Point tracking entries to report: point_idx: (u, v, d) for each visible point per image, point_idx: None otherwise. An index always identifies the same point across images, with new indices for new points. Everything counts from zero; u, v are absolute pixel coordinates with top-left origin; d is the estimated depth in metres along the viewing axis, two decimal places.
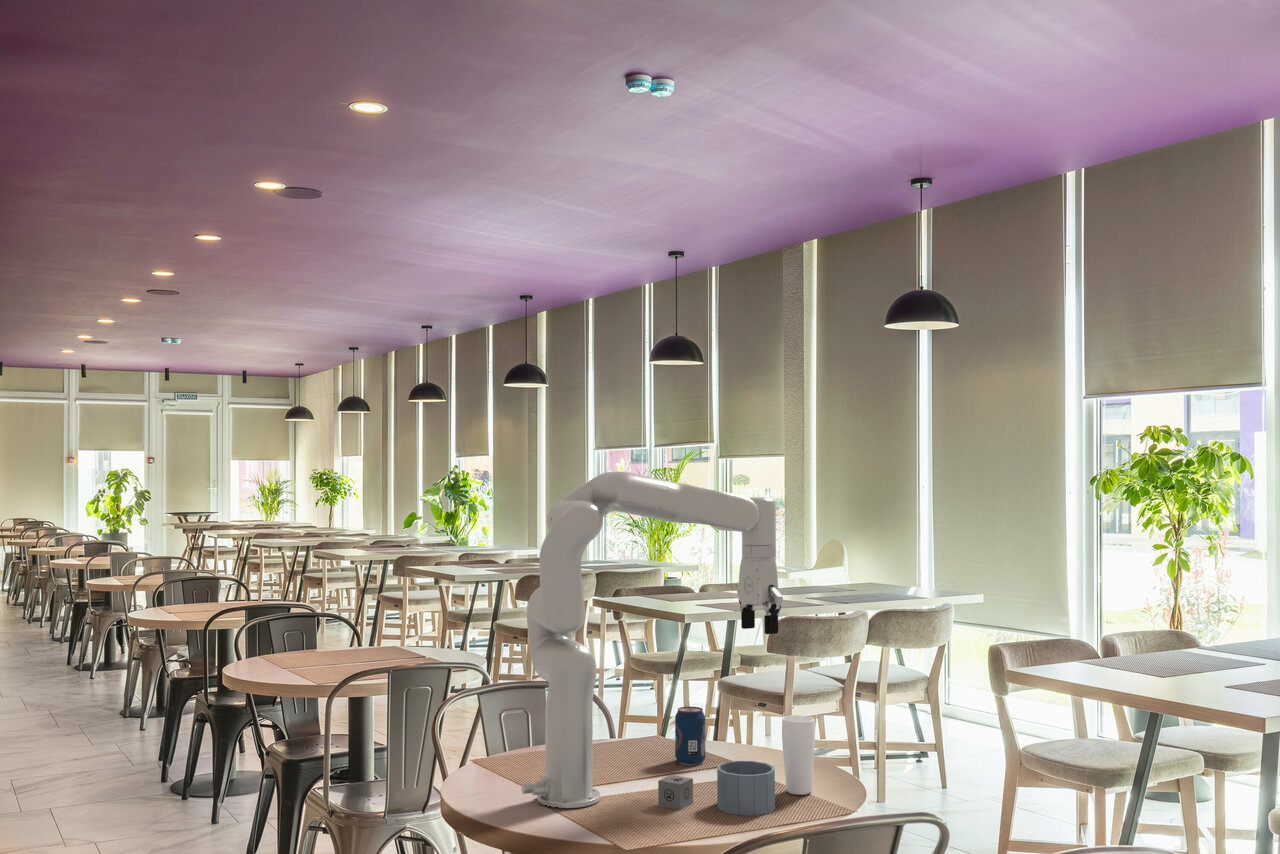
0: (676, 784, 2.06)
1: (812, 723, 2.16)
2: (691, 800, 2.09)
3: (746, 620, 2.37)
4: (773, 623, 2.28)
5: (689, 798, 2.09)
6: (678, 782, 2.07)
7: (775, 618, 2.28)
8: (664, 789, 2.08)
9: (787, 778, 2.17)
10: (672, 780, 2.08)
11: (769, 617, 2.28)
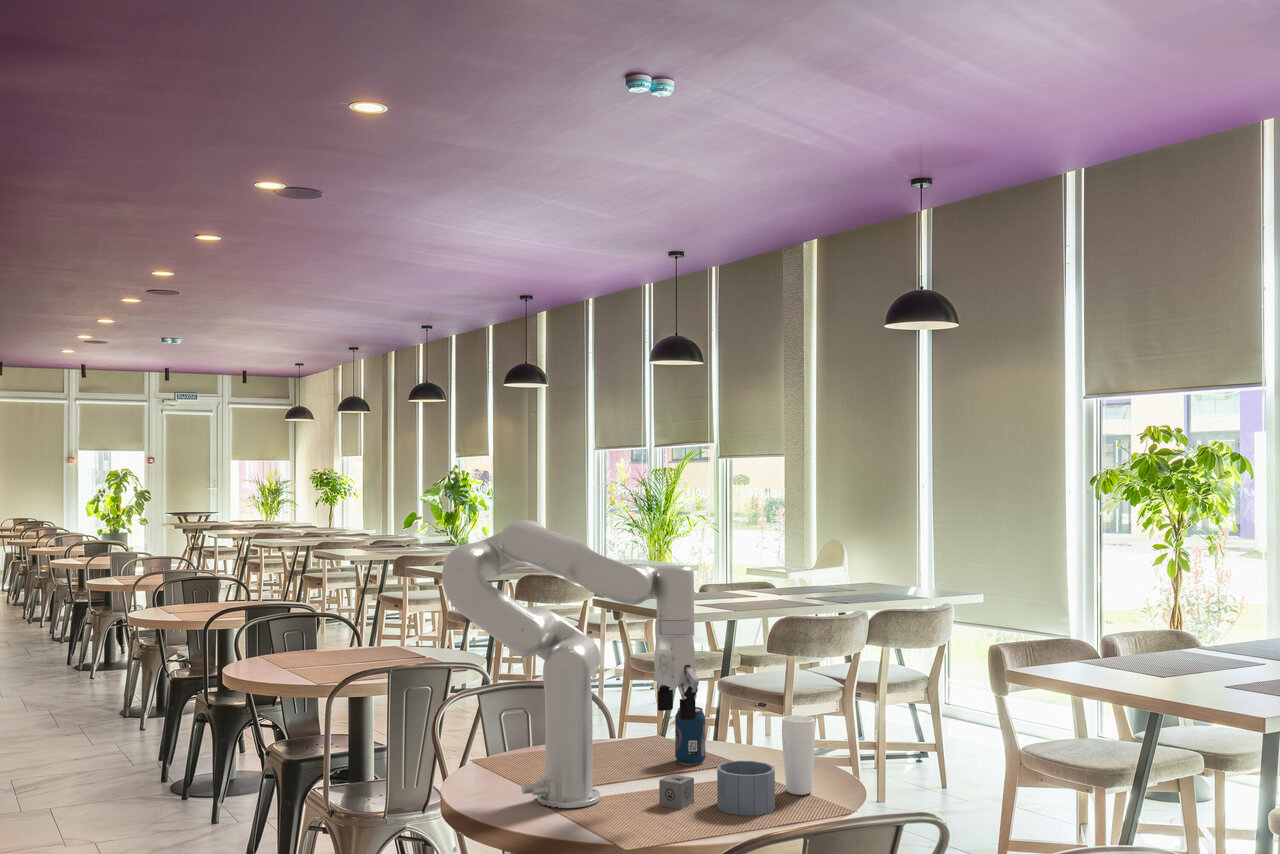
0: (677, 783, 2.07)
1: (812, 723, 2.16)
2: (692, 799, 2.10)
3: (663, 701, 2.14)
4: (689, 708, 2.05)
5: (690, 797, 2.09)
6: (679, 781, 2.08)
7: (691, 702, 2.05)
8: (665, 788, 2.08)
9: (787, 778, 2.17)
10: (673, 779, 2.09)
11: (685, 701, 2.05)
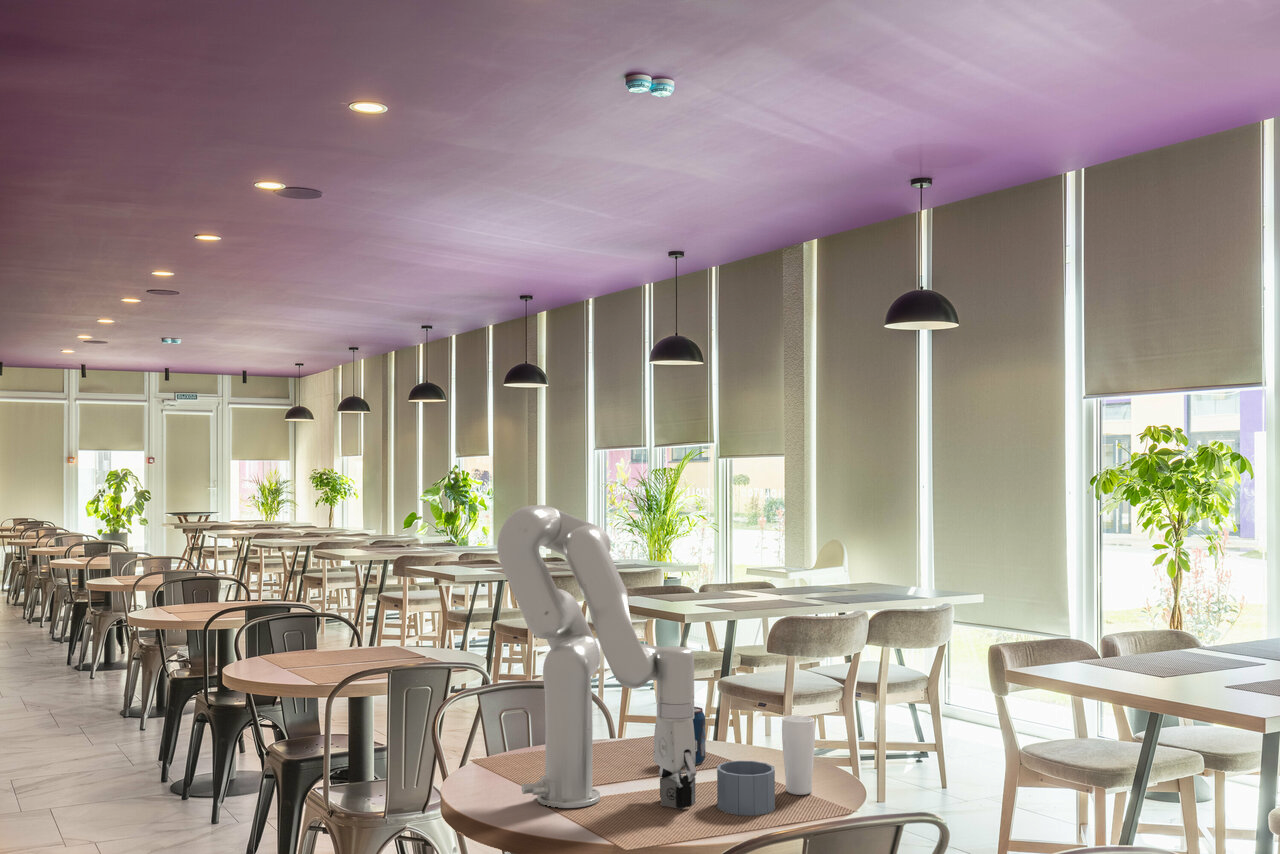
0: None
1: (812, 723, 2.16)
2: (694, 799, 2.10)
3: None
4: (685, 796, 2.05)
5: None
6: None
7: (688, 790, 2.05)
8: (666, 788, 2.08)
9: (787, 778, 2.17)
10: (674, 779, 2.09)
11: (681, 789, 2.05)
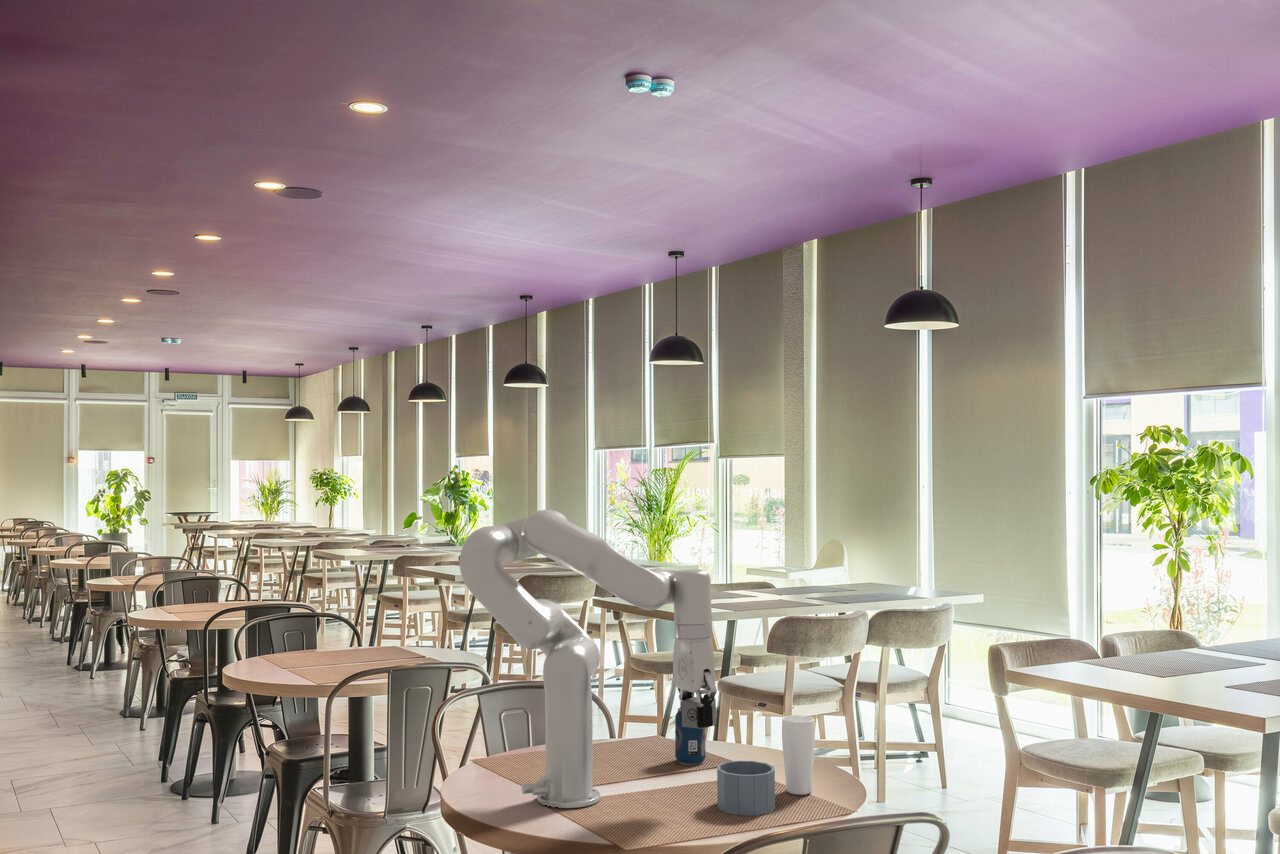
0: None
1: (812, 723, 2.16)
2: (715, 720, 2.10)
3: None
4: (706, 715, 2.05)
5: None
6: None
7: (708, 709, 2.06)
8: (687, 709, 2.09)
9: (787, 778, 2.17)
10: (695, 700, 2.10)
11: (702, 709, 2.06)
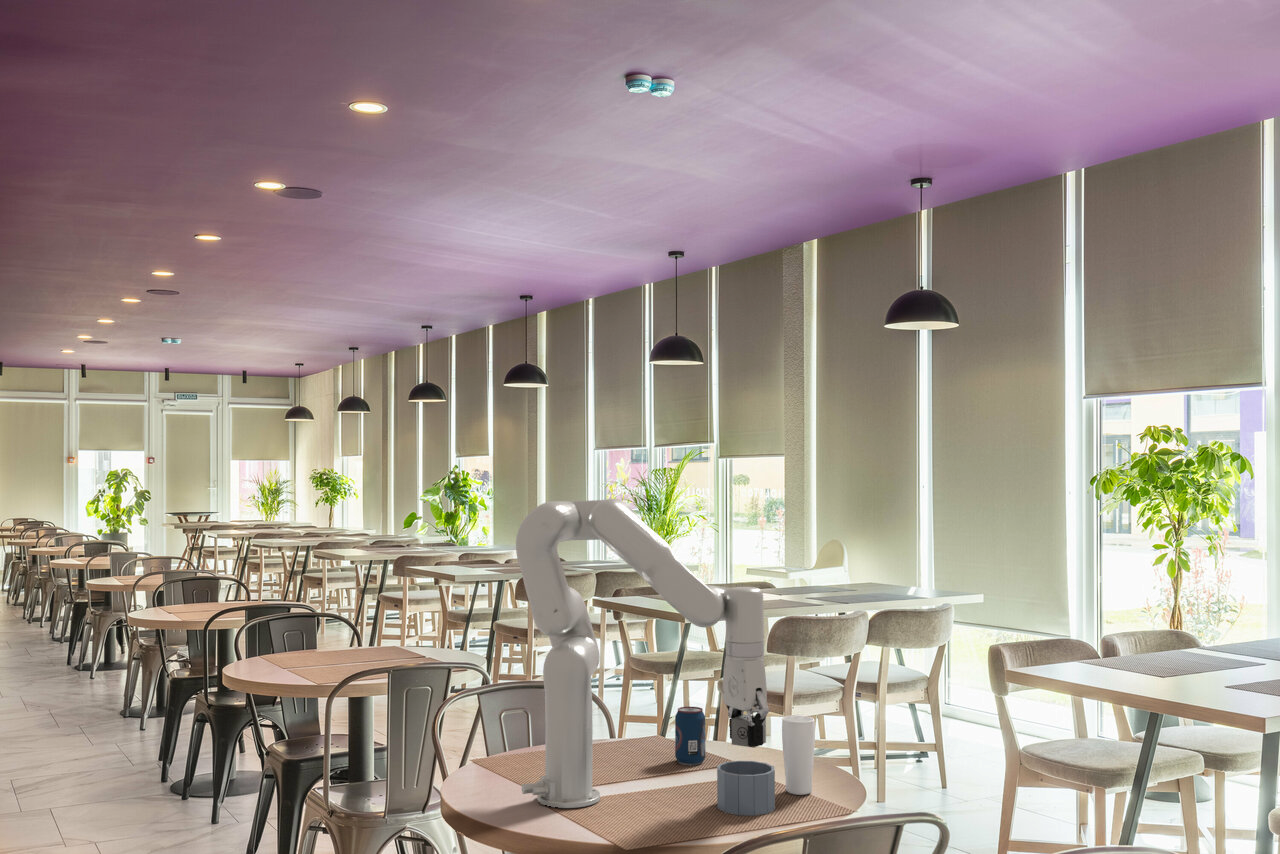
0: None
1: (812, 723, 2.16)
2: (764, 738, 2.09)
3: None
4: (757, 734, 2.04)
5: None
6: None
7: (759, 729, 2.05)
8: (737, 727, 2.08)
9: (787, 778, 2.17)
10: (745, 718, 2.08)
11: (753, 728, 2.04)
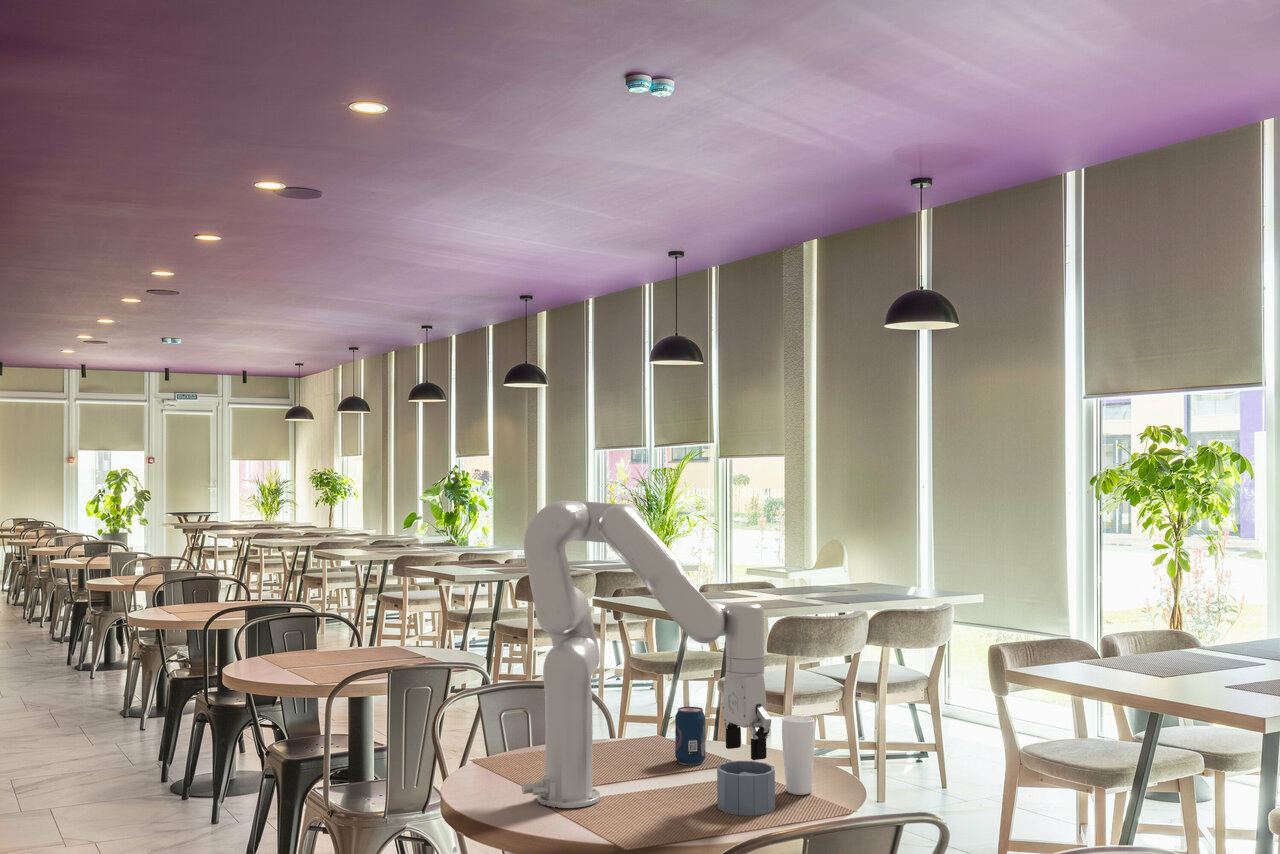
0: None
1: (812, 723, 2.16)
2: None
3: (731, 739, 2.12)
4: (760, 748, 2.03)
5: None
6: None
7: (763, 742, 2.03)
8: None
9: (787, 778, 2.17)
10: None
11: (756, 741, 2.03)
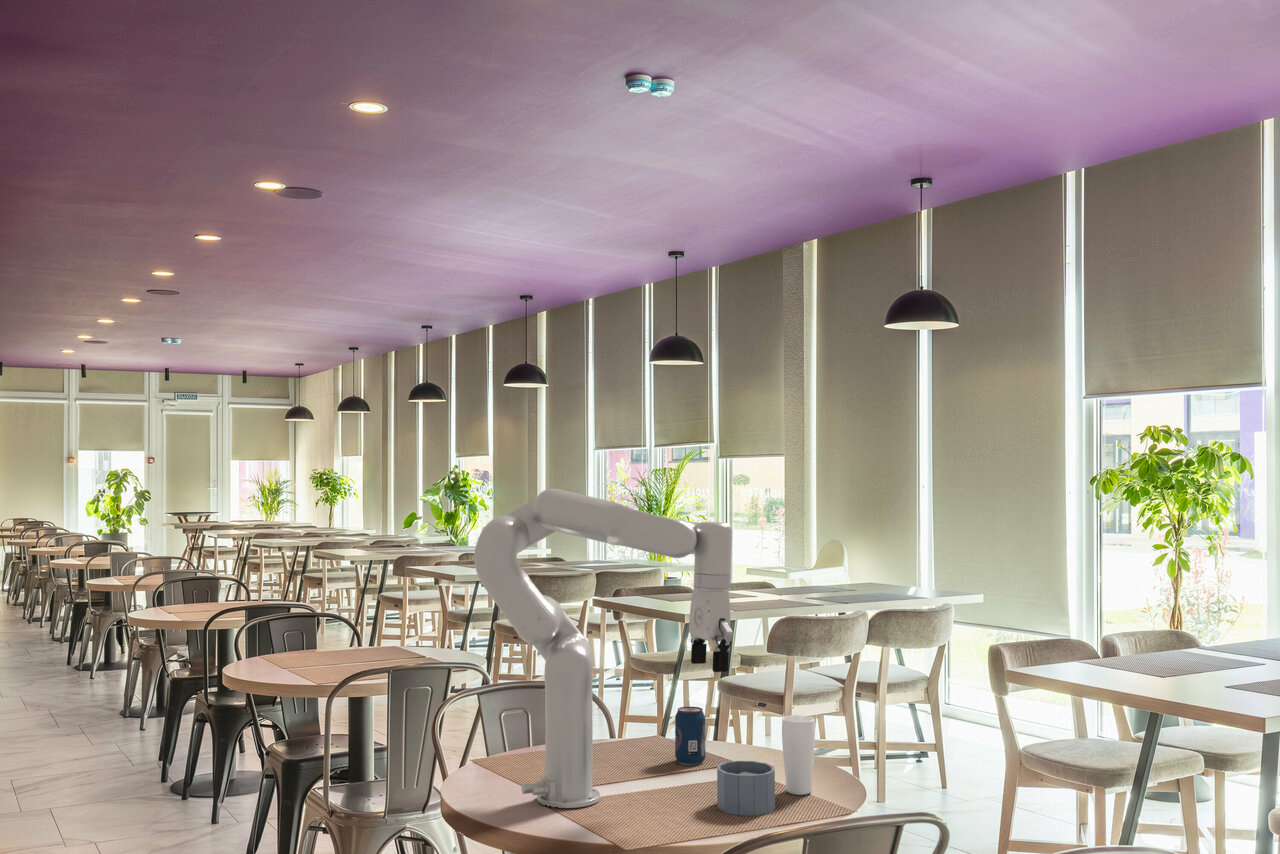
0: None
1: (812, 723, 2.16)
2: None
3: (696, 654, 2.18)
4: (722, 660, 2.09)
5: None
6: None
7: (725, 655, 2.09)
8: None
9: (787, 778, 2.17)
10: None
11: (718, 653, 2.09)
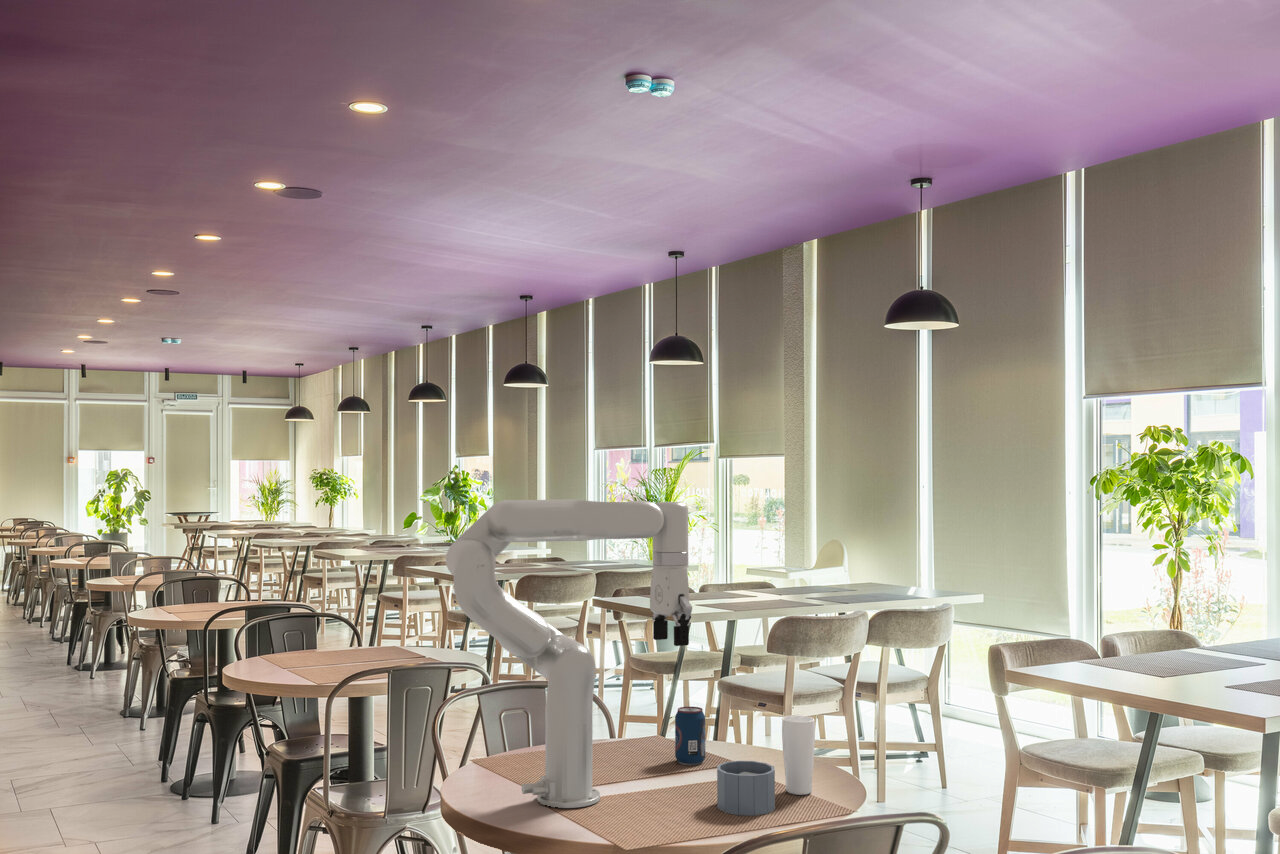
0: None
1: (812, 723, 2.16)
2: None
3: (658, 631, 2.25)
4: (683, 634, 2.16)
5: None
6: None
7: (685, 629, 2.16)
8: None
9: (787, 778, 2.17)
10: None
11: (679, 628, 2.16)
